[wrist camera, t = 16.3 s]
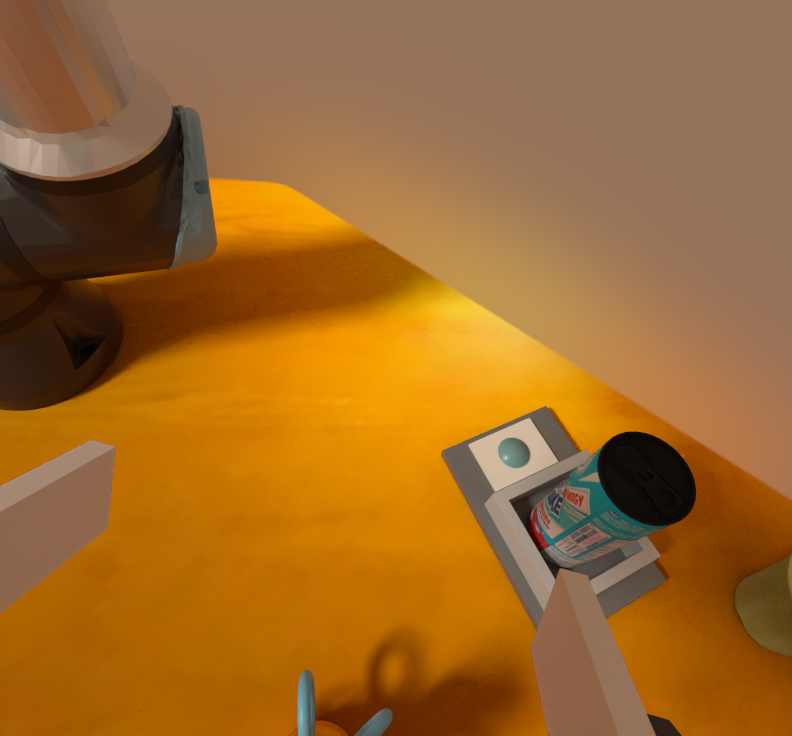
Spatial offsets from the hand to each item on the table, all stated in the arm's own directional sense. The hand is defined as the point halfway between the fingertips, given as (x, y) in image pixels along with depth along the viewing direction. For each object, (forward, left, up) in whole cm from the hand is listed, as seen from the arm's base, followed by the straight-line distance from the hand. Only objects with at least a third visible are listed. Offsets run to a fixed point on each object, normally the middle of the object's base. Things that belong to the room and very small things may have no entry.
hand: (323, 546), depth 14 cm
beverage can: (+2, +20, -28) cm, 34 cm away
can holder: (0, +20, -29) cm, 35 cm away
